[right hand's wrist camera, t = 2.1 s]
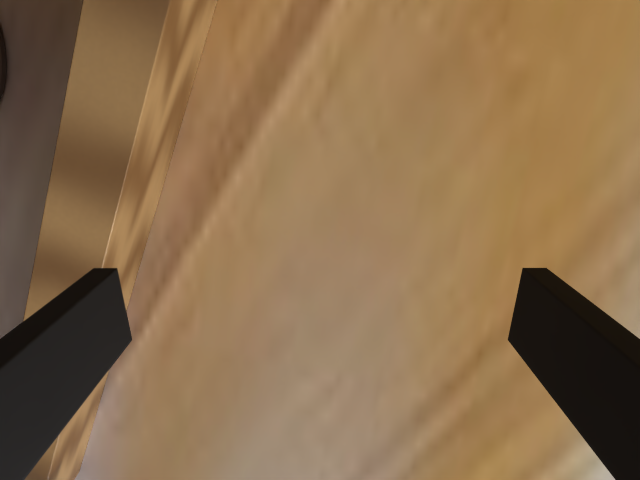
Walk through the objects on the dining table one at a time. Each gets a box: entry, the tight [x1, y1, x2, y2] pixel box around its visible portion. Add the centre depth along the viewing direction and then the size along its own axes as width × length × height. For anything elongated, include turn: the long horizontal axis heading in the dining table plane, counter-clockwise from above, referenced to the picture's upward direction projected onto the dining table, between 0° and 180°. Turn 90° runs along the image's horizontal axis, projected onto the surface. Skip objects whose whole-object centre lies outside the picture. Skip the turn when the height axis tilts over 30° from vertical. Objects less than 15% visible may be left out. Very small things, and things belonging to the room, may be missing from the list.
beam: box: [23, 0, 217, 480], centre depth 28 cm, size 80×4×8 cm, turn 157°
